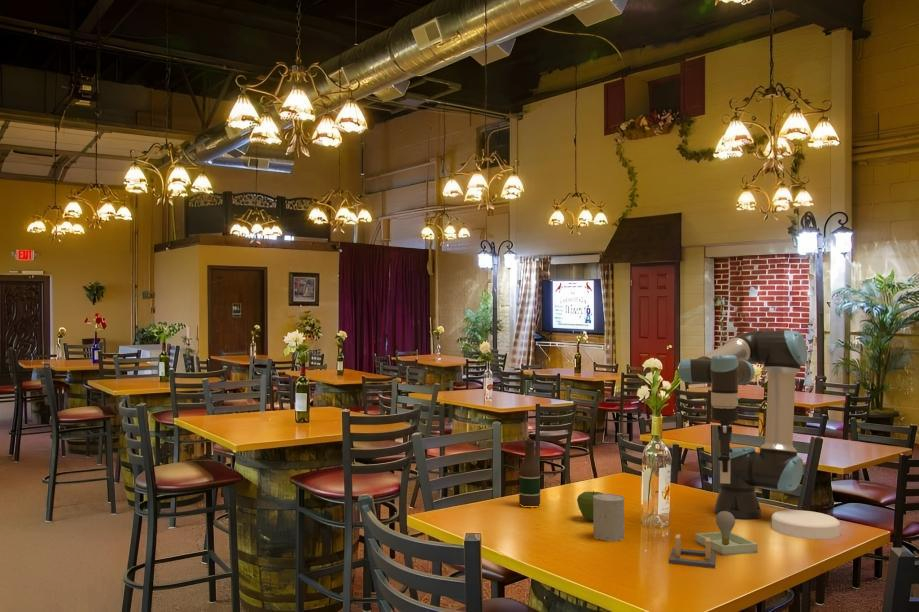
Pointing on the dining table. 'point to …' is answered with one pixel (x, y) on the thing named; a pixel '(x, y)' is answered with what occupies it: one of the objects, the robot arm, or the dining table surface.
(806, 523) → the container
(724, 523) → the light bulb
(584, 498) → the apple
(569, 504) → the dining table surface
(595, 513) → the gray cylinder
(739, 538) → the parts tray
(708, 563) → the frame
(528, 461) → the beer bottle
